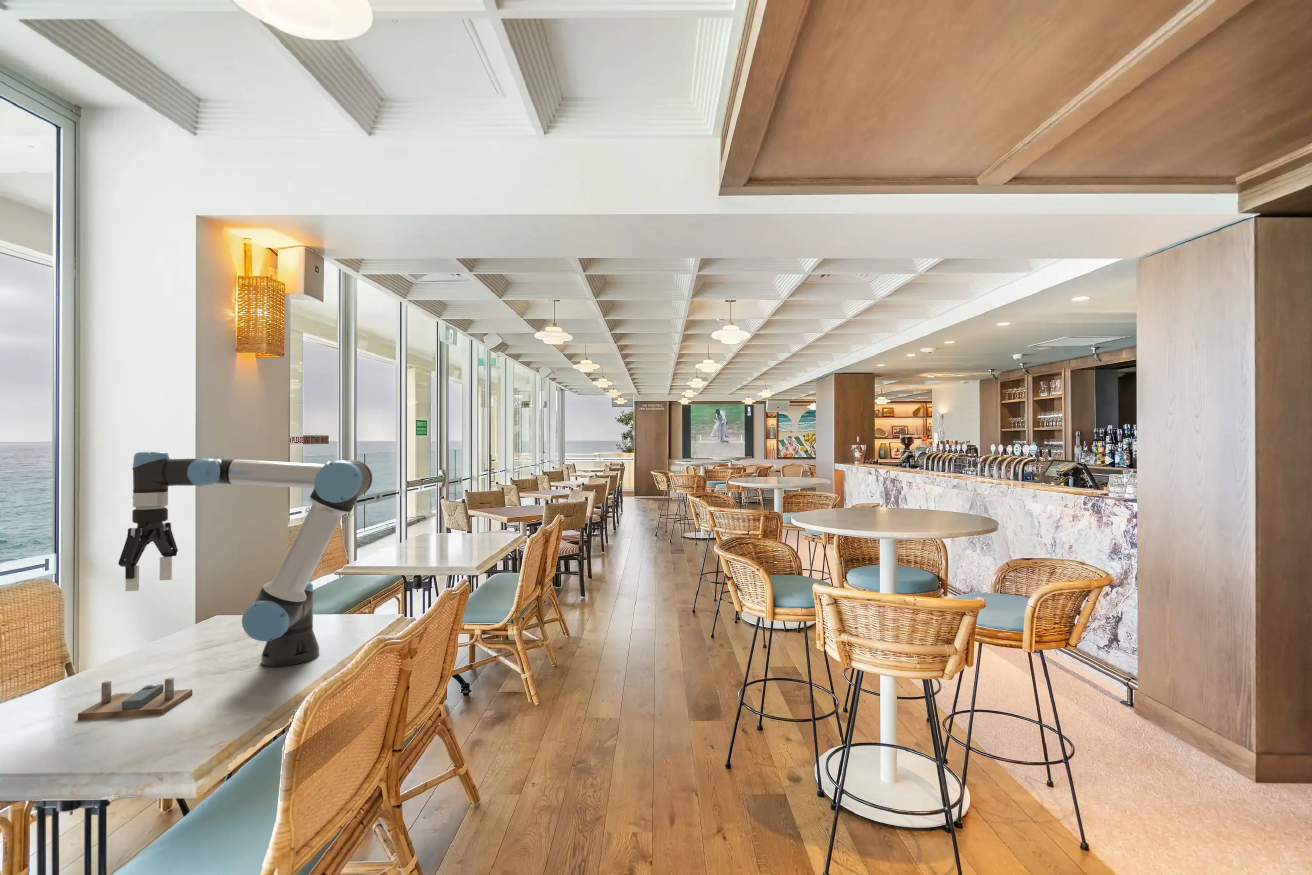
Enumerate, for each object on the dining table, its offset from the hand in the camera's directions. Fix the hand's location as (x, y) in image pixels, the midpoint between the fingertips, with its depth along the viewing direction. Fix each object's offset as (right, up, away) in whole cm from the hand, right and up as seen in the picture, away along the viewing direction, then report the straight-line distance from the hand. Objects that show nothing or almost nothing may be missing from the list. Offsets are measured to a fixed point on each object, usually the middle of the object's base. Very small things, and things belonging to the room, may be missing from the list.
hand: (149, 585), depth 167 cm
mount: (+11, -26, -16) cm, 33 cm away
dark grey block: (+12, -25, -16) cm, 32 cm away
